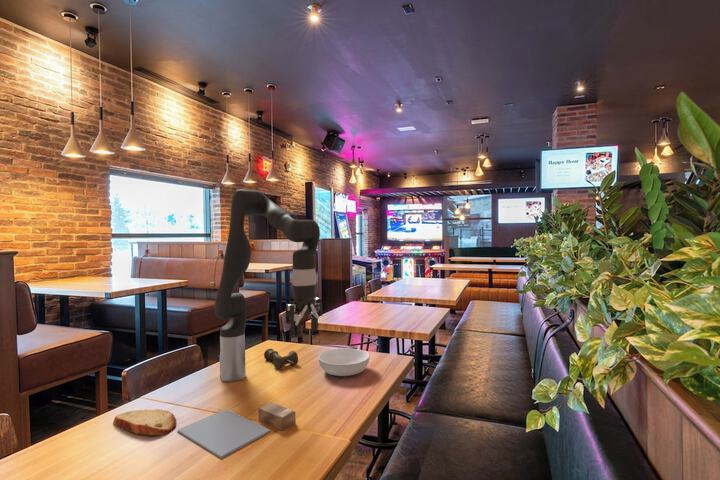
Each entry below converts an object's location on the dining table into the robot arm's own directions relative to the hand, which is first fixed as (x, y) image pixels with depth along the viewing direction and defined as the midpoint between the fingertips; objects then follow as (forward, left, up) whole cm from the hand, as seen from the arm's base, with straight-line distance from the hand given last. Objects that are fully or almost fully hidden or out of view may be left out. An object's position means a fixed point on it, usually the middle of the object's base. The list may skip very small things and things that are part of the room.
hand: (305, 333), depth 123 cm
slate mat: (-11, -23, -25) cm, 36 cm away
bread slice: (-34, -35, -26) cm, 55 cm away
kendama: (-40, +24, -26) cm, 53 cm away
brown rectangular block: (-3, -10, -26) cm, 28 cm away
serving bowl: (-12, +33, -26) cm, 44 cm away
